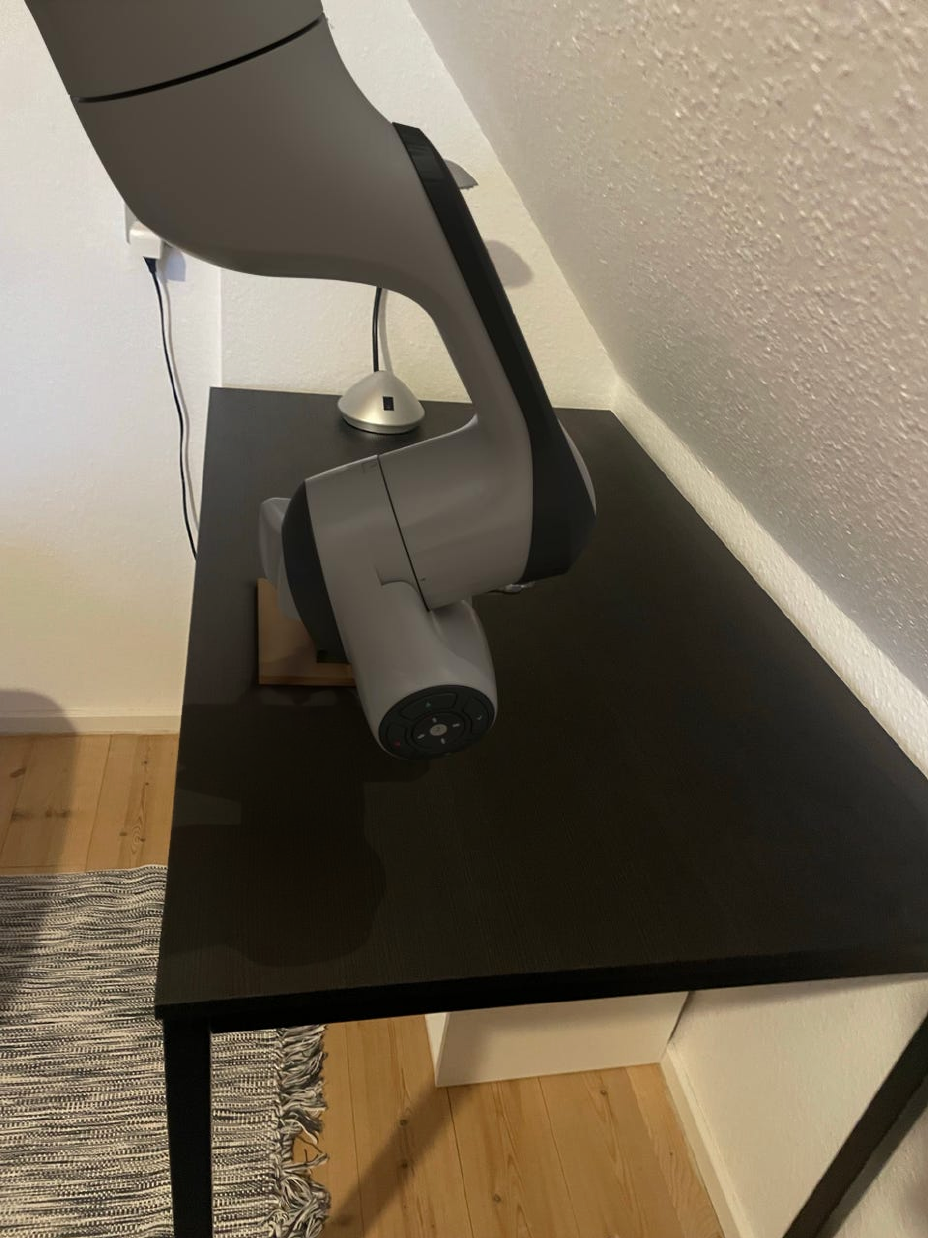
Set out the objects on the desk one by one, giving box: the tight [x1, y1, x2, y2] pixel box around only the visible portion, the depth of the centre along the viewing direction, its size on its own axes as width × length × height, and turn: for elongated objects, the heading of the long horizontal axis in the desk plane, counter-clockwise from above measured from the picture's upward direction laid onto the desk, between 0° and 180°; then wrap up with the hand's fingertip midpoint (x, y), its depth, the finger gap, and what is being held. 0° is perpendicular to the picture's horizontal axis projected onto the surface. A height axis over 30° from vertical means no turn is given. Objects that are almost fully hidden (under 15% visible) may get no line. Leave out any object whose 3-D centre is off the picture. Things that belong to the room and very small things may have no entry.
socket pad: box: [256, 577, 357, 687], centre depth 91 cm, size 20×16×2 cm
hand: (381, 497), depth 79 cm, fingers closed on robot figurine, 4 cm apart
